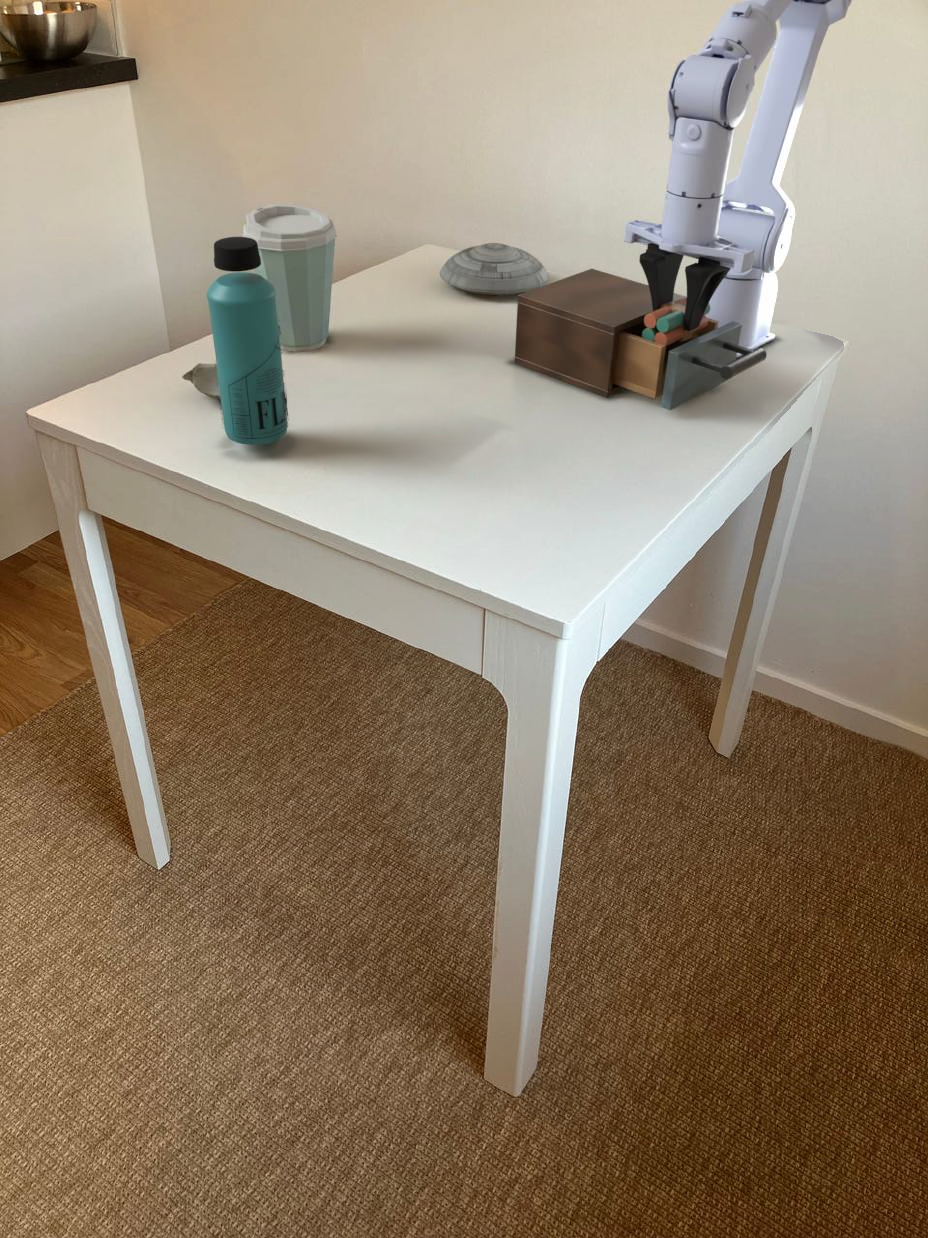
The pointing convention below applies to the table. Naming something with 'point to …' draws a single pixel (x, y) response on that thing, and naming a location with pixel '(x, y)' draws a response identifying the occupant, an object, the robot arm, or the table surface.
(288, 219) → the disposable coffee cup
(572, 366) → the cabinet
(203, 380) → the seashell
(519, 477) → the table surface
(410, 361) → the table surface
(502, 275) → the flying saucer
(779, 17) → the robot arm
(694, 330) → the teal and pink cylinders
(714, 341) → the drawer
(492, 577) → the table surface
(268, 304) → the beverage bottle
